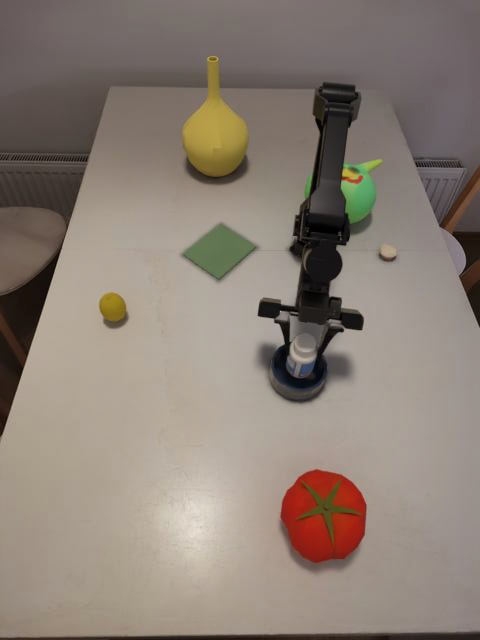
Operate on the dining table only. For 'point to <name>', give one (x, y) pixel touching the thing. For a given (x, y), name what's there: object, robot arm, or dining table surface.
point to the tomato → (324, 516)
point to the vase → (215, 132)
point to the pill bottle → (302, 356)
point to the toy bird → (356, 189)
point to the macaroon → (388, 252)
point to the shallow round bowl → (292, 385)
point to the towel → (219, 251)
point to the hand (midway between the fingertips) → (302, 358)
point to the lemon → (112, 306)
